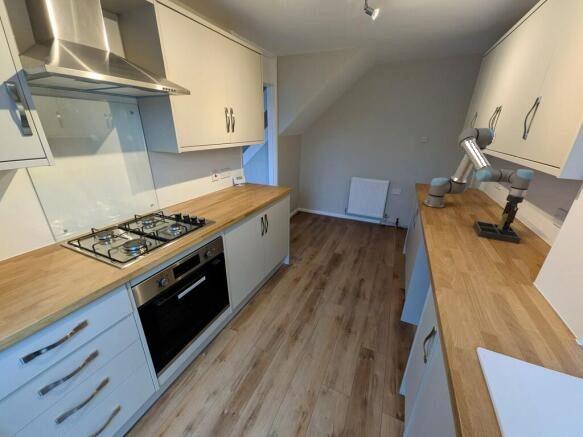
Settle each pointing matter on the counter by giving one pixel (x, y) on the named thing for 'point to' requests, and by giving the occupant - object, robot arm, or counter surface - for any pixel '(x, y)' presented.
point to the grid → (496, 232)
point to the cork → (502, 222)
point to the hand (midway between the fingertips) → (502, 229)
